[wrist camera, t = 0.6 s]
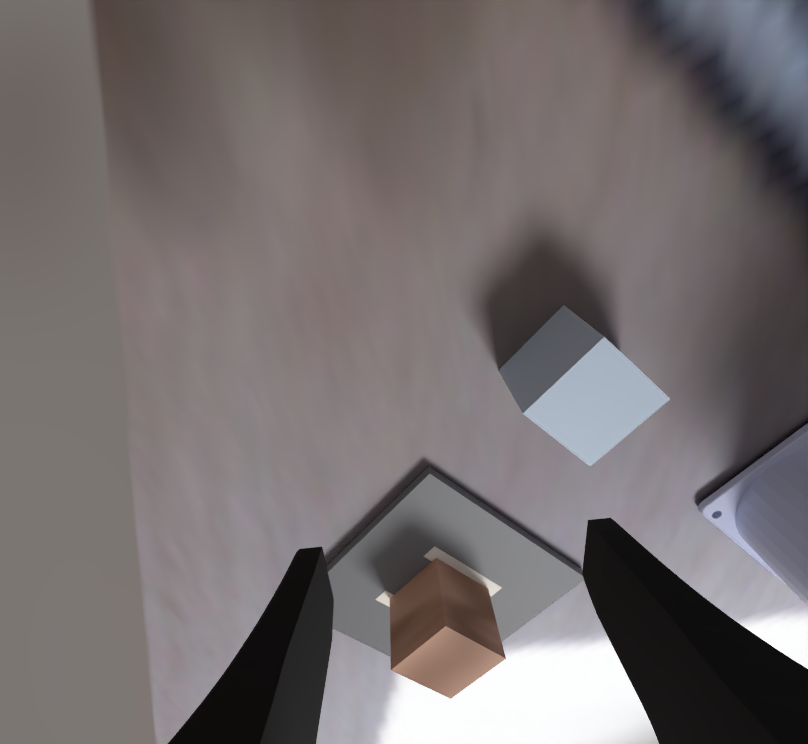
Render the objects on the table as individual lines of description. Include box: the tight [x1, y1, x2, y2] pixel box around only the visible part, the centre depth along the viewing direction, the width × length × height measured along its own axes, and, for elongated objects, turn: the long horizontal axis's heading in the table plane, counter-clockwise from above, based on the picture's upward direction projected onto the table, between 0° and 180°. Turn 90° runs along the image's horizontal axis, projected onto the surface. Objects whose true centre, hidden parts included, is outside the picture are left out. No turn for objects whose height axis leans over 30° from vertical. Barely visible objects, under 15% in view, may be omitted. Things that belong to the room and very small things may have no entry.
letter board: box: [326, 466, 584, 657], centre depth 26 cm, size 12×12×1 cm
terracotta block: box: [390, 558, 506, 698], centre depth 24 cm, size 4×4×4 cm
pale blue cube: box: [499, 305, 670, 466], centre depth 19 cm, size 4×4×4 cm
